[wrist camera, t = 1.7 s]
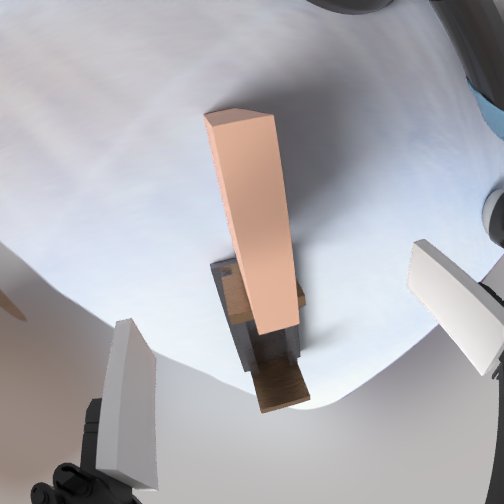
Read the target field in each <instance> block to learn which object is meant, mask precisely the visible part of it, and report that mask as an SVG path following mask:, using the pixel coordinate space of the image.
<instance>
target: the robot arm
mask: <svg viewBox="0 0 504 504" xmlns="http://www.w3.org/2000/svg"><path fill="white" fill-rule="evenodd" d="M307 1H308V2H310V3H312V4H314V5H317V6H319V7H321V8H324V9H327V10H330V11H333V12H337V13H342V14H352V15H355V14H365V13H369V12H372V11H375V10H378V9H381V8H384V7H386V6H387V5H389V4H390V3H392V2H393V1H394V0H307ZM429 2H430V3H431V5H432V7H433V8H434V10H435V12H436V13H437V15H438V17H439V19H440V20H441V22H442V24H443V26H444V28H445V29H446V31H447V33H448V35H449V37H450V39H451V41H452V43H453V45H454V47H455V50H456V52H457V54H458V56H459V58H460V61H461V63H462V65H463V68H464V70H465V72H466V78H467V83H468V85H469V87H470V89H471V90H472V92H473V93H474V95H475V98H476V100H477V103H478V105H479V108H480V111H481V114H482V116H483V118H484V120H485V122H486V123H487V125H488V126H489V127H490V129H491V130H492V131H493V132H494V133H495V134H496V135H497V136H498V137H499V138H500V139H502V140H503V141H504V0H429ZM406 288H407V289H408V290H409V291H410V292H411V293H412V294H413V295H414V296H415V297H416V298H417V299H418V300H419V302H420V303H421V304H422V305H423V306H424V307H425V308H426V309H427V310H428V311H429V313H430V314H431V315H432V316H433V317H434V318H435V319H436V321H437V322H438V323H439V324H440V325H441V326H442V327H443V329H444V330H445V331H446V332H447V333H448V334H449V336H450V337H451V338H452V339H453V340H454V342H455V343H456V344H457V345H458V346H459V348H460V349H461V350H462V351H463V353H464V354H465V355H466V356H467V357H468V359H469V360H470V361H471V363H472V364H473V365H474V366H475V368H476V369H477V370H478V372H479V373H480V374H481V376H483V375H484V374H485V373H487V372H488V371H489V370H491V369H492V368H493V366H494V365H495V363H496V362H497V360H498V359H499V360H500V362H501V363H500V364H499V366H498V367H497V369H496V370H495V372H494V373H493V375H492V379H494V378H495V376H496V375H497V374H498V372H499V375H498V376H497V378H496V379H497V380H499V417H498V431H497V442H496V450H495V457H494V464H493V470H492V475H491V480H490V485H489V490H488V494H487V498H486V502H485V504H504V301H502V299H501V298H500V297H499V296H498V295H496V293H495V292H494V291H493V290H492V289H491V288H490V287H488V286H486V285H484V284H482V283H480V282H478V283H477V282H476V281H475V280H474V279H472V278H471V277H470V276H469V275H468V274H467V273H466V272H465V271H463V270H462V269H461V268H460V267H459V266H457V265H456V264H455V263H454V262H453V261H452V260H450V259H449V258H448V257H447V256H445V255H444V254H443V253H442V252H441V251H439V250H438V249H437V248H436V247H434V246H433V245H432V244H430V243H429V242H428V241H427V240H425V239H422V240H419V241H416V242H413V248H412V255H411V261H410V267H409V273H408V279H407V284H406ZM155 382H156V358H155V356H154V355H153V353H152V351H151V350H150V348H149V346H148V345H147V343H146V341H145V340H144V338H143V336H142V335H141V333H140V331H139V330H138V328H137V326H136V325H135V323H134V321H133V319H132V318H131V319H126V320H121V321H117V322H116V326H115V330H114V335H113V340H112V345H111V350H110V356H109V361H108V366H107V372H106V378H105V384H104V390H103V397H102V398H99V399H92V401H91V403H90V405H89V407H88V408H87V411H86V418H85V423H86V424H85V425H84V434H83V442H82V451H81V452H82V453H81V463H80V467H78V466H76V465H74V464H72V463H63V464H61V465H59V466H58V467H57V468H56V469H55V471H54V474H53V485H54V486H53V487H52V486H50V485H48V484H46V483H43V482H41V483H37V484H35V485H34V486H33V488H32V490H31V502H32V504H142V503H141V502H140V501H139V500H138V499H137V498H136V497H135V496H134V495H133V494H132V488H135V489H137V490H139V491H158V478H157V462H156V437H155V436H156V435H155Z"/></svg>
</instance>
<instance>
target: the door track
mask: <svg viewBox="0 0 504 504" xmlns="http://www.w3.org/2000/svg"><path fill="white" fill-rule="evenodd" d="M210 267H211V271H212V275H213V278H214V281H215V284H216V287H217V291H218V294H219V297H220V300H221V303H222V306H223V309H224V313H225V316H226V319H227V322H228V325H229V328H230V331H231V334H232V337H233V340H234V343H235V346H236V349H237V352H238V354H239V357H240V360H241V363H242V366H243V369H244V372H247V371H250V372H251V375H252V378H253V382H254V386H255V390H256V394H257V398H258V402H259V406H260V410H261V413H266V412H270V411H273V410H277V409H281V408H284V407H288V406H291V405H295V404H298V403H301V402H305V401H308V400H310V394H309V392H308V389H307V387H306V384H305V382H304V379H303V376H302V374H301V371H300V369H299V366H298V362H297V358H299V357H300V346H299V335H298V324H297V325H294V326H290V327H287V328H283V329H280V330H276V331H273V332H269V333H265V334H261V335H259V333H258V329H257V326H256V323H255V319H254V316H253V313H252V309H251V306H250V302H249V299H248V295H247V292H246V289H245V285H244V282H243V278H242V275H241V271H240V268H239V264H238V261H237V258H233V259H229V260H225V261H221V262H217V263H213V264H210ZM295 279H296V278H295ZM296 289H297V299H298V307H301V306H304V305H306V302H305V294H304V293H303V291H302V289H301V287H300V285H299V283H298V282H297V280H296Z"/></svg>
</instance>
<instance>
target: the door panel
mask: <svg viewBox="0 0 504 504" xmlns="http://www.w3.org/2000/svg"><path fill="white" fill-rule="evenodd" d="M204 120H205V125H206V129H207V134H208V138H209V143H210V147H211V152H212V156H213V161H214V165H215V170H216V174H217V179H218V183H219V187H220V192H221V196H222V201H223V205H224V209H225V213H226V218H227V222H228V226H229V231H230V235H231V239H232V243H233V247H234V250H235V254H236V257H237V261H238V264H239V268H240V271H241V275H242V278H243V282H244V285H245V289H246V292H247V295H248V299H249V302H250V306H251V309H252V313H253V316H254V319H255V323H256V326H257V329H258V333H259V335H261V334H265V333H269V332H273V331H276V330H280V329H283V328H287V327H290V326H294V325H297V324H300V321H299V310H298V299H297V289H296V279H295V269H294V260H293V251H292V242H291V234H290V226H289V218H288V210H287V202H286V194H285V187H284V180H283V173H282V166H281V159H280V152H279V145H278V139H277V133H276V126H275V120H274V115H271V114H266V113H261V112H255V111H250V110H244V109H238V108H232V109H227V110H222V111H217V112H213V113H208V114H204Z"/></svg>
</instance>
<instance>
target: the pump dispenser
mask: <svg viewBox="0 0 504 504" xmlns="http://www.w3.org/2000/svg"><path fill="white" fill-rule="evenodd" d="M482 222H483V226H484V229H485V231H486V233H487V234H488V235H489V237H490V239H491V241H492V242H494V243H495V244H497V245H498V246H500V247H502V248H504V189H498V190H496V191H494V192H493V193H491V194H490V196H489V197H488V198H487V200H486V202H485V204H484V208H483V212H482Z"/></svg>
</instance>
